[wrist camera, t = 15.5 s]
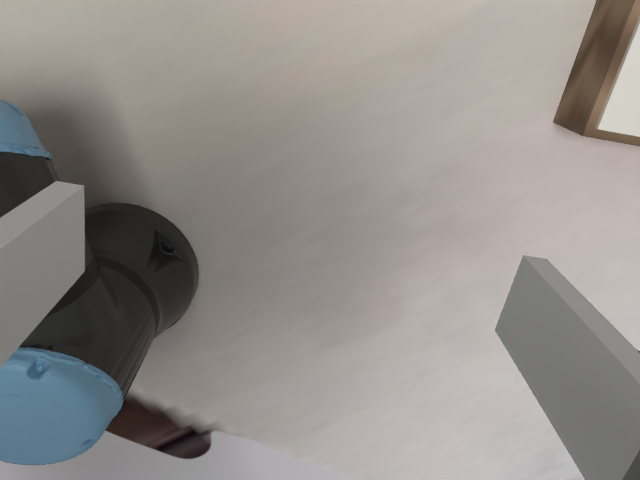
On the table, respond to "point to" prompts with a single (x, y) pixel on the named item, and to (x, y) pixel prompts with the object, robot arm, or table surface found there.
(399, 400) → the table surface
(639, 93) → the base block
